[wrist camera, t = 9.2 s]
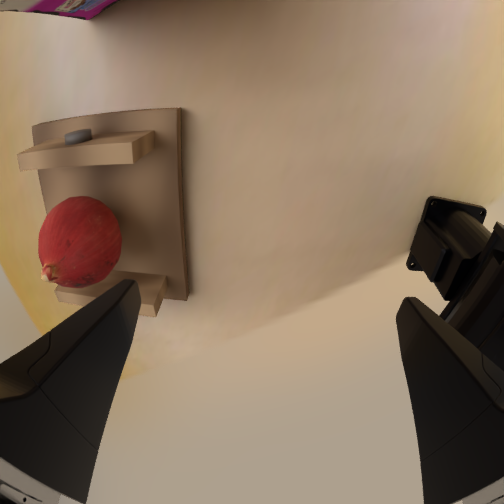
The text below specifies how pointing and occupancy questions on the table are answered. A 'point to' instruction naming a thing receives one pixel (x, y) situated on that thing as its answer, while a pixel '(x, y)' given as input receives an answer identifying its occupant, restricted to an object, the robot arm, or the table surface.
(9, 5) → the candy bar box
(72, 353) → the robot arm
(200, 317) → the table surface
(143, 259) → the cup
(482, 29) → the table surface
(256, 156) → the table surface
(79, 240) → the onion
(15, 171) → the table surface
